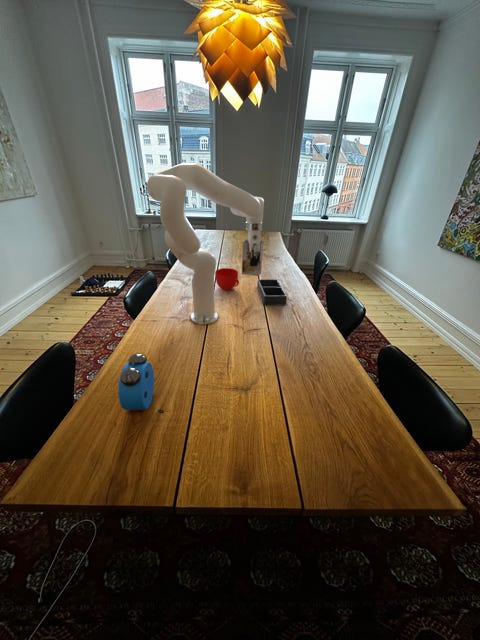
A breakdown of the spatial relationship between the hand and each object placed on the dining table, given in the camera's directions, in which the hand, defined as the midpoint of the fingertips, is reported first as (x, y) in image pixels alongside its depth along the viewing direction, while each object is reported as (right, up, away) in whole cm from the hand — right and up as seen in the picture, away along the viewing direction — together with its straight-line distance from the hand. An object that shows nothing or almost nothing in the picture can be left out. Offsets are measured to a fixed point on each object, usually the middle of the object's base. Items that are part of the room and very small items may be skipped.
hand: (252, 262), depth 128 cm
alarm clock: (-35, -53, -52) cm, 82 cm away
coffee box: (0, -5, +3) cm, 6 cm away
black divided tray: (+11, -15, +15) cm, 24 cm away
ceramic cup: (-13, -11, +20) cm, 26 cm away
